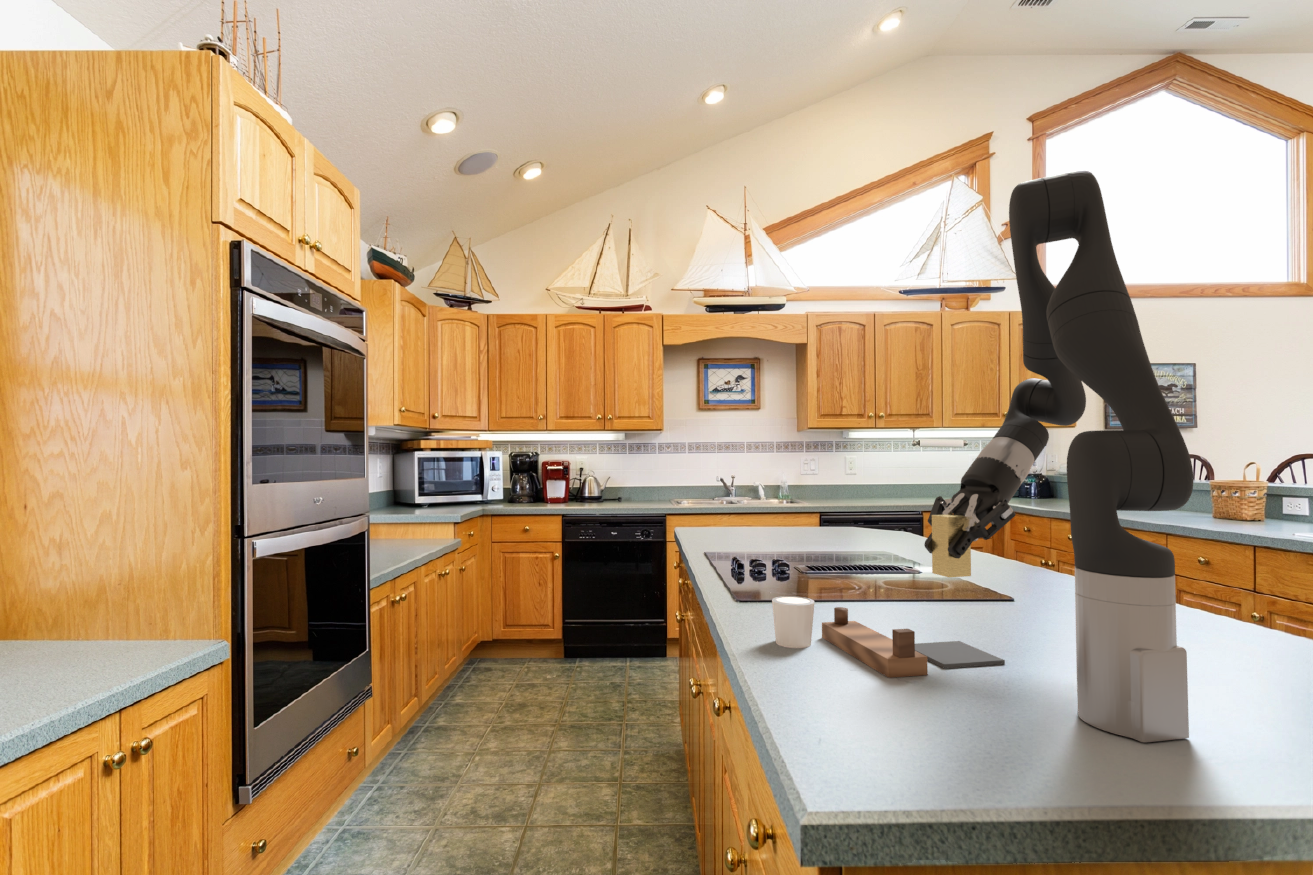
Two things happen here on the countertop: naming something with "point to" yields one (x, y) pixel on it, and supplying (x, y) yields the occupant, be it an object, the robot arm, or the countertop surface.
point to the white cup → (793, 621)
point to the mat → (956, 655)
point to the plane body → (876, 646)
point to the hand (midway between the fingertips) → (940, 551)
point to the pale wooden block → (941, 539)
